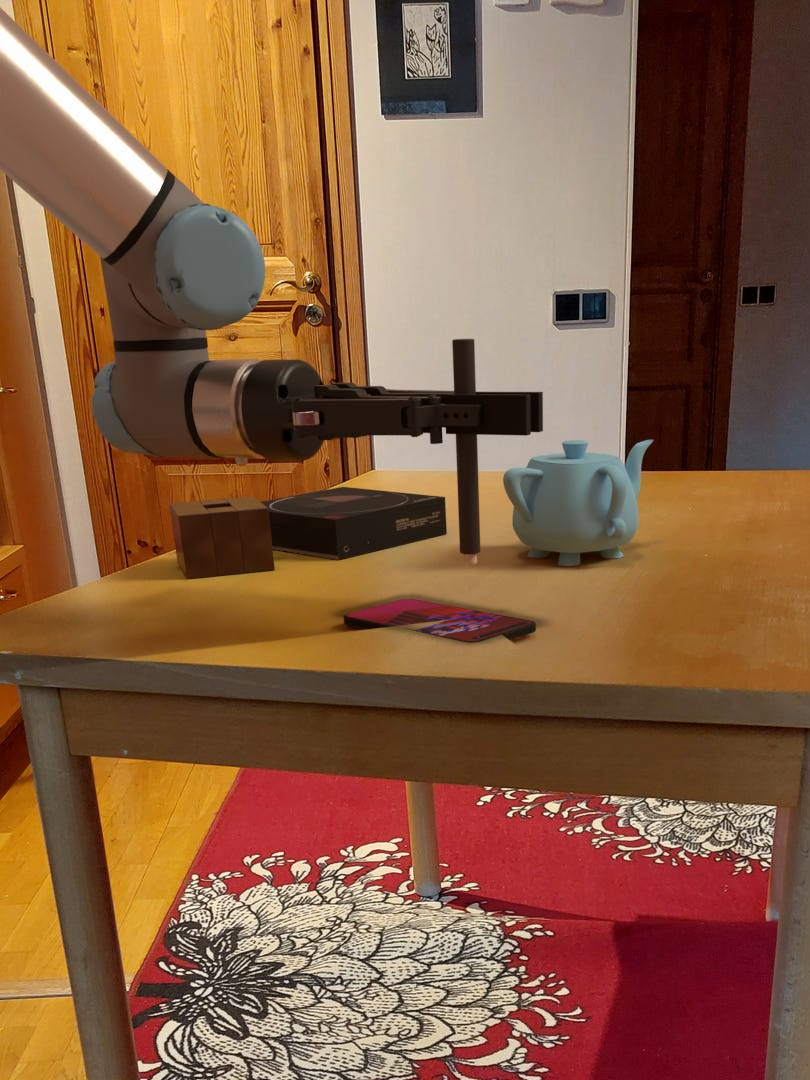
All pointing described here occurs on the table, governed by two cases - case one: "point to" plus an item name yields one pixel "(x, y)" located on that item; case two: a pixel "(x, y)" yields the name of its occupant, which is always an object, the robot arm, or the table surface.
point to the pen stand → (222, 536)
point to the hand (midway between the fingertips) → (534, 413)
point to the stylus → (467, 455)
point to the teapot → (576, 502)
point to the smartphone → (458, 624)
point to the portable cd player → (353, 521)
